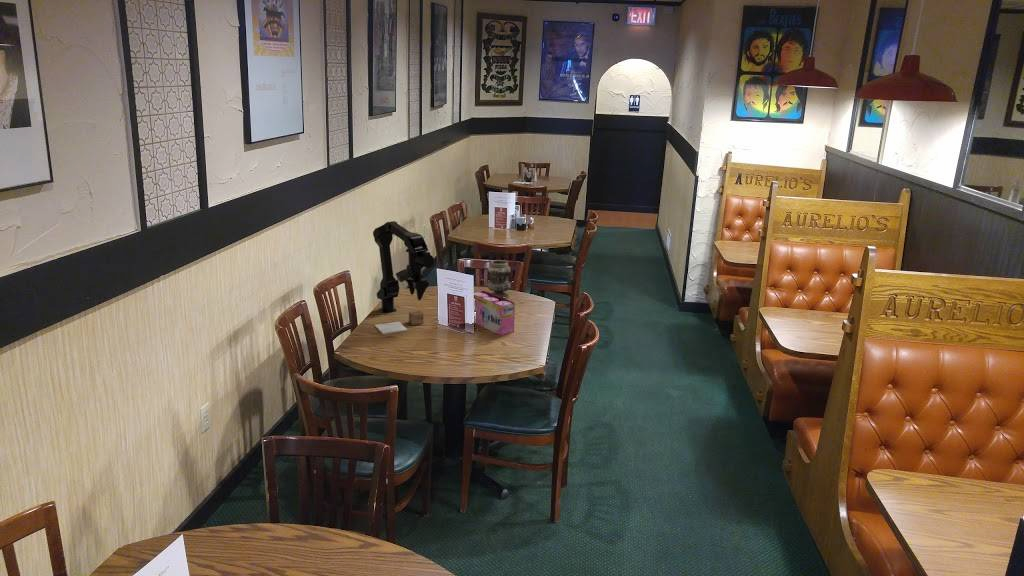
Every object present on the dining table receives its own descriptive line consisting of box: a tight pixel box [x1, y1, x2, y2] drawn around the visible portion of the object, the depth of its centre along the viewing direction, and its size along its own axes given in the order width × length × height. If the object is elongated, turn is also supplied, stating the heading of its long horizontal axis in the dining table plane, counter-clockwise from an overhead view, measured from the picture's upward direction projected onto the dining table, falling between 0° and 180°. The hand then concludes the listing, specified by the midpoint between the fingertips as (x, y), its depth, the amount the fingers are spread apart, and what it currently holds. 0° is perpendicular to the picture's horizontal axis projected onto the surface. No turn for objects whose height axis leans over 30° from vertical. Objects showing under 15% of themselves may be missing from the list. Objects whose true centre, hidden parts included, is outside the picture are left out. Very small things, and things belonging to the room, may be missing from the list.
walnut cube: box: [408, 309, 424, 326], centre depth 314 cm, size 5×5×5 cm
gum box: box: [473, 290, 516, 336], centre depth 311 cm, size 24×8×14 cm, turn 40°
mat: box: [374, 321, 408, 335], centre depth 307 cm, size 11×11×1 cm
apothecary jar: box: [486, 259, 512, 298], centre depth 353 cm, size 12×12×18 cm
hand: (415, 297), depth 311 cm, fingers open, 9 cm apart
